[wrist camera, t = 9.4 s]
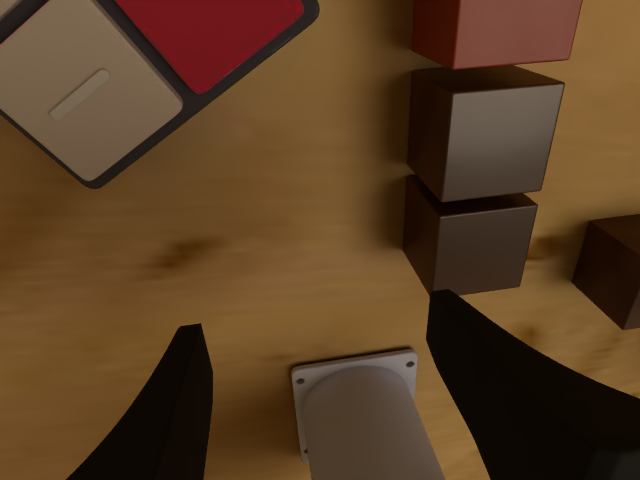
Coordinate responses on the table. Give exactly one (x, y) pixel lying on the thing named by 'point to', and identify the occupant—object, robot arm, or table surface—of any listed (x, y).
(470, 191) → the T block
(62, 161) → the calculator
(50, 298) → the table surface
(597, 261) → the I block back
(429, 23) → the block
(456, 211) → the dark brown cube block
